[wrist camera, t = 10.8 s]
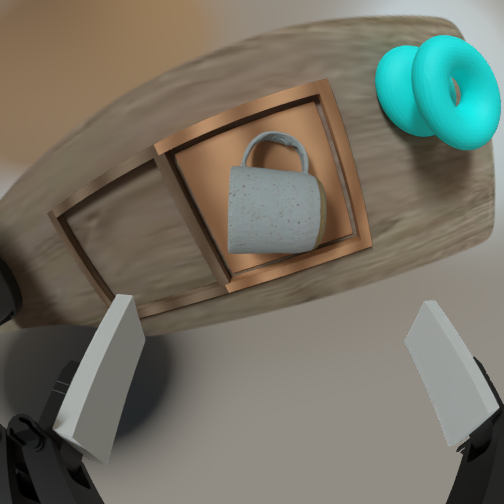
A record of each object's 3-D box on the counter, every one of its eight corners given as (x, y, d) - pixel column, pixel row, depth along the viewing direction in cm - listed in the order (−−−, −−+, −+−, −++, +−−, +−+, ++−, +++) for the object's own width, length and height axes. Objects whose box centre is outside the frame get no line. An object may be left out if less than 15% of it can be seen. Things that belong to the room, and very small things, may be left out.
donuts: (409, 26, 11) (494, 43, 10) (359, 48, 20) (435, 50, 18) (435, 159, 16) (509, 150, 14) (381, 139, 24) (450, 131, 23)
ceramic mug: (307, 233, 29) (323, 271, 23) (230, 231, 29) (224, 269, 22) (316, 134, 24) (340, 142, 18) (231, 129, 24) (222, 135, 17)
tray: (122, 317, 36) (120, 323, 35) (52, 209, 28) (47, 213, 27) (368, 240, 30) (372, 245, 29) (324, 79, 22) (327, 78, 21)
